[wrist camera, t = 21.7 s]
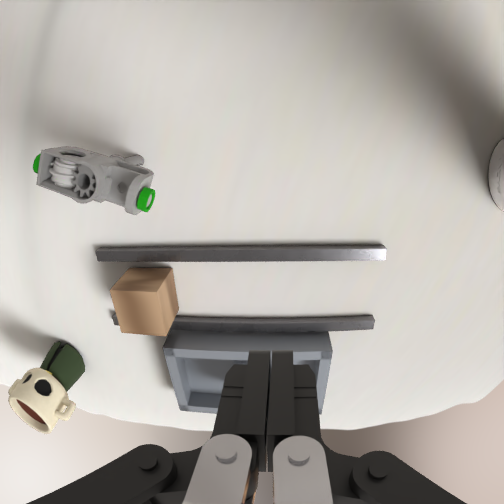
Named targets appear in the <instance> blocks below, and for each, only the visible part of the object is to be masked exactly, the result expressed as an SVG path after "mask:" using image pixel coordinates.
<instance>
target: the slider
mask: <svg viewBox="0 0 504 504" xmlns="http://www.w3.org/2000/svg"><path fill="white" fill-rule="evenodd" d="M110 293H111V297H112V301H113V304H114V308H115V312H116V315H117V319H118V322H119V326H120V329H121V332H122V333H132V334H143V335H155V336H167V334H168V331H169V329H170V327H171V325H172V323H173V321H174V319H175V316H176V314H177V312H178V310H179V306H178V301H177V295H176V288H175V282H174V276H173V269H172V268H129V269H128V270H127V271H126V272H125V273H124V275H123V276H122V277H121V278H120V279H119V280H118V281H117V282H116V283H115V284H114V286H113V287H112V288H111V289H110Z"/></svg>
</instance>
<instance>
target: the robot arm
mask: <svg viewBox="0 0 504 504" xmlns="http://www.w3.org/2000/svg"><path fill="white" fill-rule="evenodd" d="M488 179H489V188H490V192H491V195H492V198H493V200H494V202H495V203H496V205H497V206H498V208H500V209H501V210H502V211H504V139H502V140H501V141H500V142H499V143H498V145H497V146H496V147H495V149H494V151H493V154H492V157H491V160H490V165H489V178H488ZM316 387H317V386H316V376H315V373H314V372H313V371H312V369H311V368H310V366H309V365H308V364H304V365H293V350H272V361H271V351H270V350H249V355H248V362H247V365H245V364H234V365H233V366H232V367H231V368H230V370H229V371H228V372H227V373H226V375H225V380H224V384H223V389H222V393H221V398H220V402H219V407H218V411H217V416H216V421H215V425H214V430H213V433H212V436H211V438H210V439H209V440H208V441H207V442H206V443H205V444H204V445H203V446H201V447H200V448H198V449H195V450H192V451H186V452H179V453H169V452H168V451H167V450H166V449H164V448H163V447H161V446H158V445H153V444H146V445H141V446H138V447H137V448H135V449H133V450H131V451H129V452H128V453H126V454H124V455H122V456H121V457H119V458H117V459H115V460H114V461H112V462H110V463H108V464H107V465H105V466H103V467H101V468H99V469H97V470H95V471H94V472H92V473H90V474H88V475H86V476H84V477H82V478H80V479H78V480H76V481H74V482H72V483H70V484H68V485H66V486H64V487H62V488H60V489H58V490H56V491H54V492H52V493H50V494H47V495H45V496H43V497H41V498H38V499H36V500H34V501H32V502H29V503H27V504H254V500H255V495H256V489H257V485H258V475H259V471H261V472H266V463H267V456H268V472H273V504H466V503H465V502H463V501H461V500H460V499H458V498H457V497H455V496H454V495H452V494H450V493H449V492H447V491H446V490H444V489H442V488H441V487H439V486H438V485H437V484H435V483H433V482H432V481H431V480H429V479H428V478H426V477H425V476H423V475H422V474H420V473H419V472H417V471H416V470H414V469H413V468H412V467H410V466H409V465H407V464H406V463H404V462H403V461H402V460H400V459H398V458H397V457H396V456H395V455H392V454H391V453H389V452H385V451H373V452H369V453H367V454H364V455H363V456H361V457H360V458H358V457H352V456H346V455H342V454H338V453H336V452H334V451H332V450H330V449H329V448H328V447H327V446H326V445H325V444H324V442H323V441H322V438H321V433H320V420H319V408H318V399H317V388H316Z"/></svg>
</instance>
